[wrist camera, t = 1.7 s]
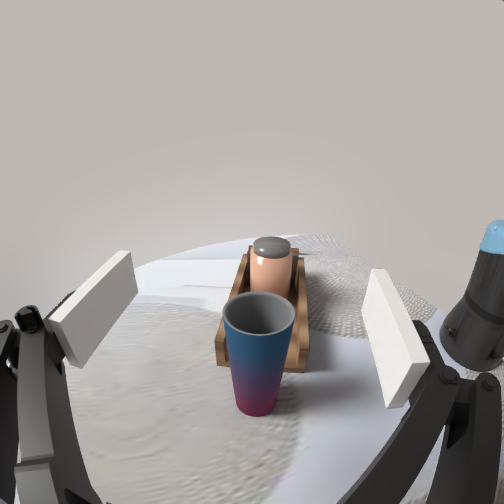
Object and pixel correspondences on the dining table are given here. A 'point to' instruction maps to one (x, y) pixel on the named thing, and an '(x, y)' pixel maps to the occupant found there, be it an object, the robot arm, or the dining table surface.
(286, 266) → the jar
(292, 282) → the pusher
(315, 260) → the dining table surface
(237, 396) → the cup
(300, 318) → the wooden tray
